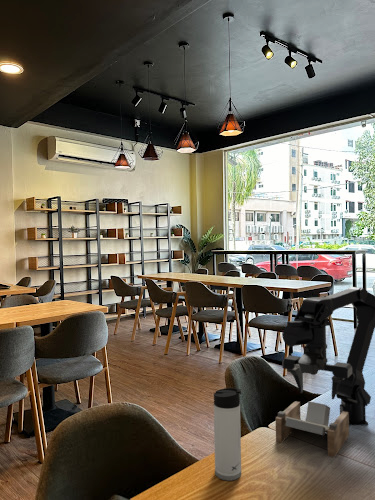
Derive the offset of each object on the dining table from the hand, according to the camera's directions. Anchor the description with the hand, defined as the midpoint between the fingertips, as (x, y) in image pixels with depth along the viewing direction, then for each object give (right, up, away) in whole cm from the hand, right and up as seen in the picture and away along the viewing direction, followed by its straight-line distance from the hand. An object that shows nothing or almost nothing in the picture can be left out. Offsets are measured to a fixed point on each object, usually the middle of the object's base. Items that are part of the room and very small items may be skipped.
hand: (316, 395), depth 116 cm
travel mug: (-28, -11, -21) cm, 36 cm away
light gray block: (0, -9, -1) cm, 9 cm away
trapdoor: (-3, -9, -5) cm, 10 cm away
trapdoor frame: (-2, -11, -3) cm, 11 cm away
